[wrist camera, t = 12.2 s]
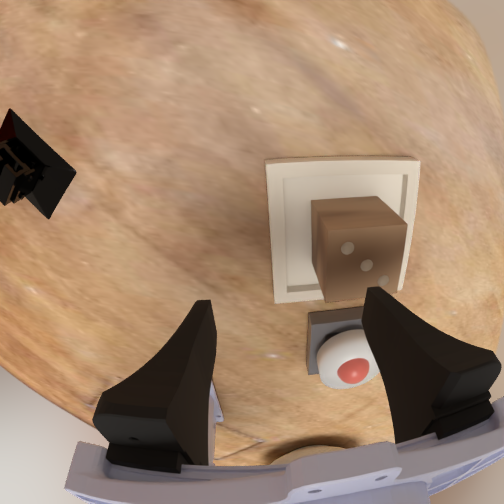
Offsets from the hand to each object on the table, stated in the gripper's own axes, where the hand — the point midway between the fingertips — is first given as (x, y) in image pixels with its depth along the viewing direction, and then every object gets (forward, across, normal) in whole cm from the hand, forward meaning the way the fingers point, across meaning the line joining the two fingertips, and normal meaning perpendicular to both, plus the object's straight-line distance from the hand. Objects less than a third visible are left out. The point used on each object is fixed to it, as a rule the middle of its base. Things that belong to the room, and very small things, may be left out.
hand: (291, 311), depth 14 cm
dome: (+9, -6, +12) cm, 16 cm away
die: (+9, -5, 0) cm, 11 cm away
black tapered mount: (+11, +20, -8) cm, 24 cm away
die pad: (+10, -5, +1) cm, 11 cm away
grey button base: (+10, -6, +12) cm, 17 cm away
